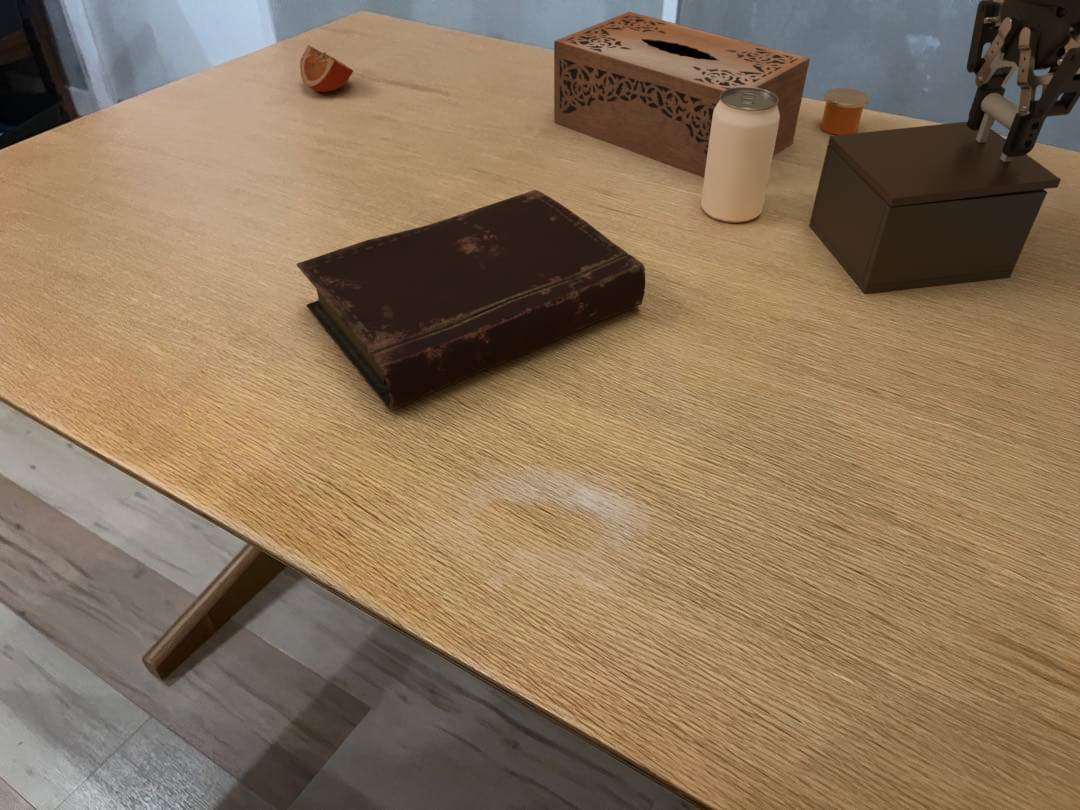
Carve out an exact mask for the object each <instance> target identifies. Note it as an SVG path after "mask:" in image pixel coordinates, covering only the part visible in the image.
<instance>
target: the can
mask: <svg viewBox="0 0 1080 810" xmlns="http://www.w3.org/2000/svg"><path fill="white" fill-rule="evenodd" d="M778 101H779V99H778V97H777V96H776V95H775V94H774V93H772V92H770V91H768V90H765V89H761V88H756V87H734V88H730V89H727V90H725V91H723V92H722V93H721V94H720V100H719V102H718V104H717V105H716V107H715V109H714V112H713V117H712V124H711V131H710V138H709V146H708V153H707V161H706V168H705V176H704V177H703V183H702V184H703V185H702V193H701V200H700V201H701V202H700V205H701V208H702V210H703V211H704V213H705V214H706V215H707V216H708V217H710V218H712V219H714V220H715V221H718V222H722V223H729V224H743V223H747V222H751V221H753V220H755V219H756V218H758V216H759V215H761V213H762V212H763V209H764V204H765V200H766V195H767V194H766V193H767V190H768V189H767V188H768V185H769V179H770V173H771V167H772V162H773V158H774V155H773V153H774V147H775V142H776V137H777V131H778V125H779V119H780V113H779V110H778V106H777V104H778Z"/></svg>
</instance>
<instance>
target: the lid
mask: <svg viewBox="0 0 1080 810" xmlns="http://www.w3.org/2000/svg"><path fill="white" fill-rule="evenodd" d="M981 109H982V111H984V112H985V114H984V116H983V119H982V122H981V125H980V128H979V130H971V129H970V128H969V127H968V126H967V122H968V121H959V122H951V123H941V124H933V125H932V124H931V125H923V126H912V127H911V126H910V127H902V128H894V129H884V130H883V129H882V130H874V131H865V132H856V133H854V134H844V135H830V136H829V139H828V142H827V143H828V144H827V145H830V146H831V147H832V148H833V149H834V150H835V151H836V152H837V153H838V154H839V155H840V156H841V157H842V158H843V159H844V160H845V161H846V162H847V163H848V164H849V165H850V166H851V167H852V168H853V169H854V170H855V171H856V172H857V173H858V174H859V175H860V176H861V177H862V178H863V179H864V180H865V181H866V182H867V183H868V184H869V185H870V186H871V187H872V188H873V189H874V190H875V191H876V192H877V193H878V194H879V195H880V196H881V197H882V198H883V199H884V200H885V201H886V202H887V203H888V204H889V205H890V206H891V207H893V206H901V205H910V204H919V203H927V202H936V201H945V200H953V199H962V198H971V197H979V196H988V195H997V194H1005V193H1014V192H1023V191H1031V190H1040V189H1044V190H1047V189H1056V188H1058V187H1059V185H1060V183H1061V179H1062V178H1060V177H1058V176H1057V175H1056V174H1054V173H1053V172H1052V171H1050V170H1049V169H1048V168H1046V167H1044V166H1043V165H1042V164H1041V163H1039V162H1038V161H1036V160H1035V159H1034V158H1032V157H1031V156H1029V155H1028V154H1026V155H1024V156H1017V157H1008V156H1006V155H1005V154H1004V153H1003V152H1002V149H1003V147H1004V144H1005V141H1006V139H1007V138H1005V137H1004V136H1002V135H1001V134H999V133H998V132H996V131H995V130H994V129H992V127H993V125H992V123H993V120H994V119H995V120H994V121H996V122H997V123H999V124H1000V125H1002V126H1003V127H1004V128H1006V129H1007V130H1009V131H1010V128H1011V125H1012V123H1013V120H1014V117H1015V115H1016V113H1019V105H1017V104H1015V103H1014V102H1012V101H1010V100H1009V99H1008V98H1006V97H1005V96H1004V95H1003V96H1001V95H1000V94H998V93H990V94H988V95H987V96H986V97H985V98H984V99H983V101H982V103H981ZM993 124H994V123H993Z"/></svg>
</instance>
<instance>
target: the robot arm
mask: <svg viewBox="0 0 1080 810" xmlns="http://www.w3.org/2000/svg"><path fill="white" fill-rule="evenodd" d="M974 19H975V20H974V25H973V30H972V36H971V41H970V46H969V51H968V57H967V61H966V71H967V72H968V73H969V74H971V73H972V74H973V73H974V75H975V81H974V82H975V86H976V87H977V89H976V92H975V93H974V94H975V95H974V97H973V101H972V103H971V107H970V110H969V111H968V118H967V121H966V122H967V126H968V127H969V128H970V129H971V130H979V128H980V125H981V122H982V119H983V116H984V114H985V112H984V111H982V109H981V103H982V101H983V99H984V98H985V97H986V96H987V95H988V94H990V93H998V94H1000V95H1001V96H1003V97H1004V95H1005V93H1006V89H1007V88H1005V87H1003V86H1002V85H1006V84H1007V83H1008V81H1010V78H1011V77H1012V76H1013V75H1014V73H1015V71H1016V70H1017V76H1016V85H1017V86H1018V87H1019V88H1020V95H1019V102H1018V107H1019V113H1016V115H1015V117H1014V120H1013V123H1012V125H1011V128H1010V130H1009V131H1008V134H1007V136H1006V138H1005V139H1006V141H1005V144H1004V147H1003V149H1002V152H1003V153H1004V154H1005V155H1006V156H1008V157H1017V156H1024V155H1026V154H1027V155H1028V154H1029V153H1030V152H1031V151H1032V150H1033V149H1034V148H1035V145H1036V143H1037V140H1038V138H1039V136H1040V132H1041V131H1042V128H1043V125H1044V123H1045V121H1046V119H1047V118H1049V117H1057V116H1059V117H1060V116H1068V115H1069V114H1070V113H1071V112H1072V110H1073V108H1074V107H1075V105H1076V103H1077V102H1078V100H1079V99H1080V0H980V1H979V3H978V4H977V9H976V14H975V18H974ZM986 44H989V47H988V49H987V50H986V52H985V53H984V55H983V51H984V46H985V45H986ZM982 55H983V57H982ZM1047 69H1049V70H1048V72H1047V73H1045V74H1037V75H1036V74H1035V72H1034V71H1042V70H1047ZM1039 86H1041V87H1042V88H1041V89H1042V90H1041V96H1040V98H1039V99H1036V93H1037V88H1038V87H1039ZM1060 96H1061V97H1060ZM1059 98H1060V99H1059ZM995 121H996V120H995V119H994V120H993V123H992V126H993V125H994V123H995Z"/></svg>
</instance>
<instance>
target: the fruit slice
mask: <svg viewBox="0 0 1080 810" xmlns="http://www.w3.org/2000/svg"><path fill="white" fill-rule="evenodd" d="M299 64H300V66H299V69H300V77H301V80H302V82H303V84H305V86H306V87H308V88H309V89H311V90H313V91H315V92H319V93H329V92H333V91H336V90H338V89H340V88H341V87H342V86H343V85H345V84H346V83H347V82H348V81H349V79H350V78H351V76H352V74H353V73H354V70H353V69H352V68H350V67H349V66H348V65H346V64H345V63H343V62H341V61H339V60H338V59H336V58H335V57H333V56H330V55H328V54H327V51H324V52H322V51H320V50H318V49H317V48H315V47H313V46H311V45H307V46H306V47H305V50H304V53H303V54H302V57H301V58H300V61H299Z"/></svg>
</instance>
